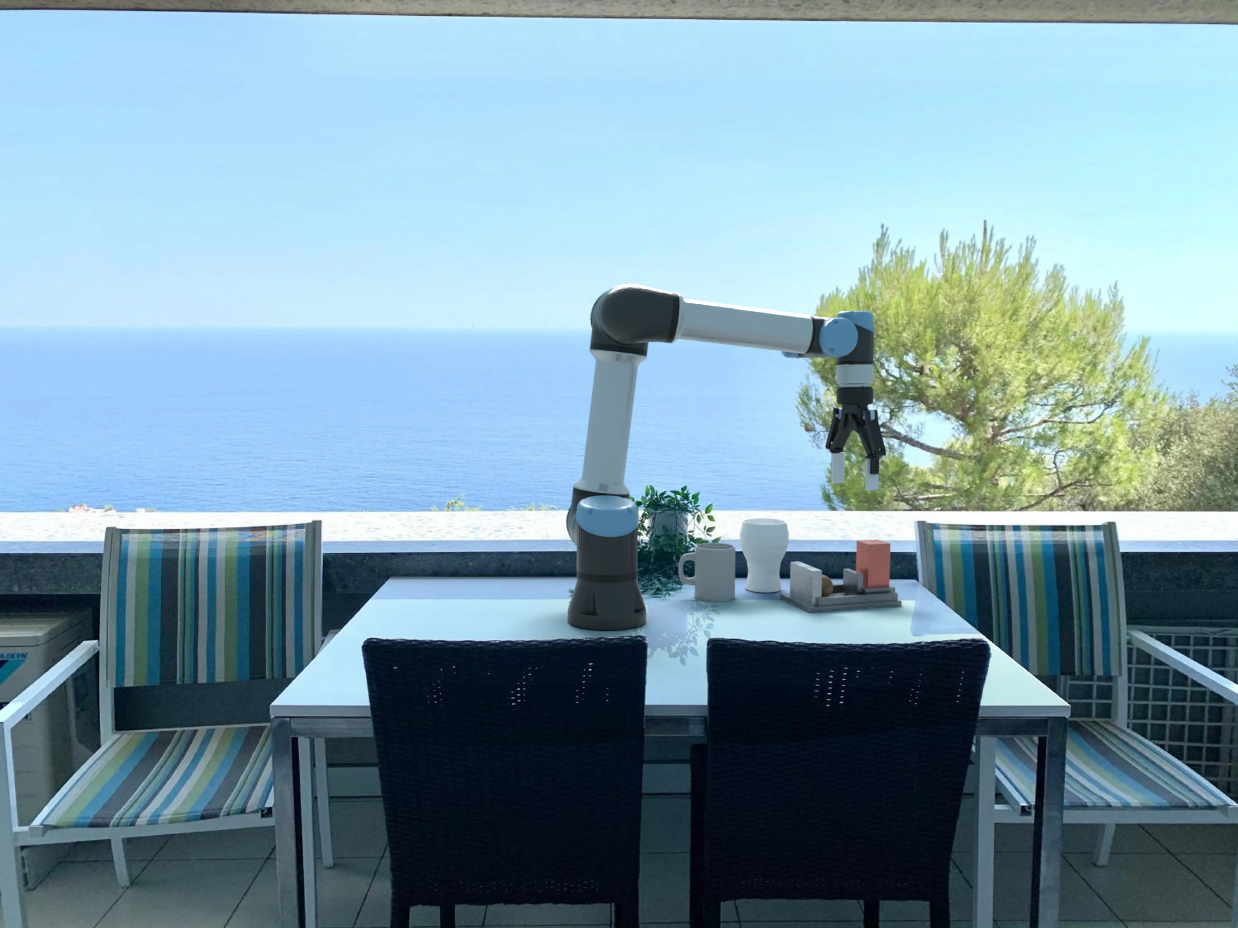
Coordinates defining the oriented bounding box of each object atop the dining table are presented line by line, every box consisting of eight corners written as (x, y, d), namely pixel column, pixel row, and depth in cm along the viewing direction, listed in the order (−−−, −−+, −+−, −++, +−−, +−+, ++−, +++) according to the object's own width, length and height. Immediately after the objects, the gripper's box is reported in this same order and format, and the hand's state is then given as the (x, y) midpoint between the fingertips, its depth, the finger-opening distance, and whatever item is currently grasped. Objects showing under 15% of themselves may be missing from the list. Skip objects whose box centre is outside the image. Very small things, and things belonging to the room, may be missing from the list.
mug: (732, 592, 222) (733, 542, 221) (736, 601, 213) (737, 549, 212) (677, 592, 222) (677, 542, 221) (679, 601, 213) (679, 549, 212)
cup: (791, 594, 220) (792, 525, 219) (741, 594, 221) (742, 525, 219) (784, 584, 231) (785, 518, 229) (736, 583, 231) (737, 517, 230)
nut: (815, 602, 209) (815, 577, 208) (804, 596, 214) (804, 573, 213) (837, 600, 210) (837, 576, 210) (825, 595, 215) (826, 571, 215)
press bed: (808, 612, 204) (809, 572, 203) (780, 598, 216) (780, 560, 216) (901, 605, 210) (902, 567, 209) (868, 592, 223) (869, 556, 222)
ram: (859, 599, 210) (861, 546, 209) (840, 591, 218) (841, 539, 217) (895, 596, 212) (896, 544, 211) (874, 588, 220) (876, 538, 219)
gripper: (904, 386, 204) (903, 492, 206) (840, 384, 227) (839, 479, 229) (871, 387, 201) (870, 494, 203) (809, 385, 225) (809, 481, 227)
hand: (854, 486), depth 216 cm, fingers open, 13 cm apart
